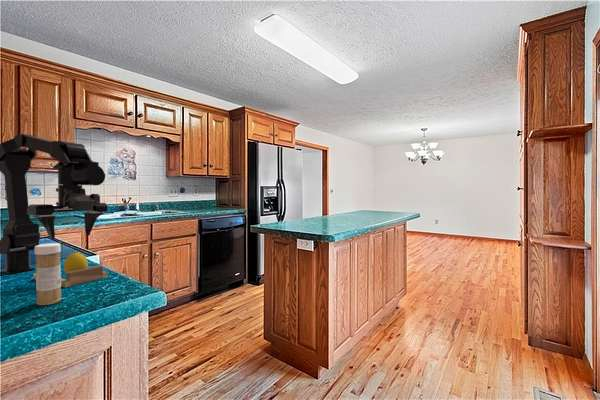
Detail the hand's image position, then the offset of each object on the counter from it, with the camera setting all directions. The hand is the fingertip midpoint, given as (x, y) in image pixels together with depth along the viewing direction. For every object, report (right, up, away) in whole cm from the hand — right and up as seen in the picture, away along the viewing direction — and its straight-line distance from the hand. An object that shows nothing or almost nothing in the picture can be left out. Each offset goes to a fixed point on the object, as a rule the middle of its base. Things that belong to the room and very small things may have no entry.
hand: (71, 237), depth 90 cm
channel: (+1, -12, -1) cm, 12 cm away
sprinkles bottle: (+10, -13, -20) cm, 26 cm away
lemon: (+3, -12, -2) cm, 13 cm away
